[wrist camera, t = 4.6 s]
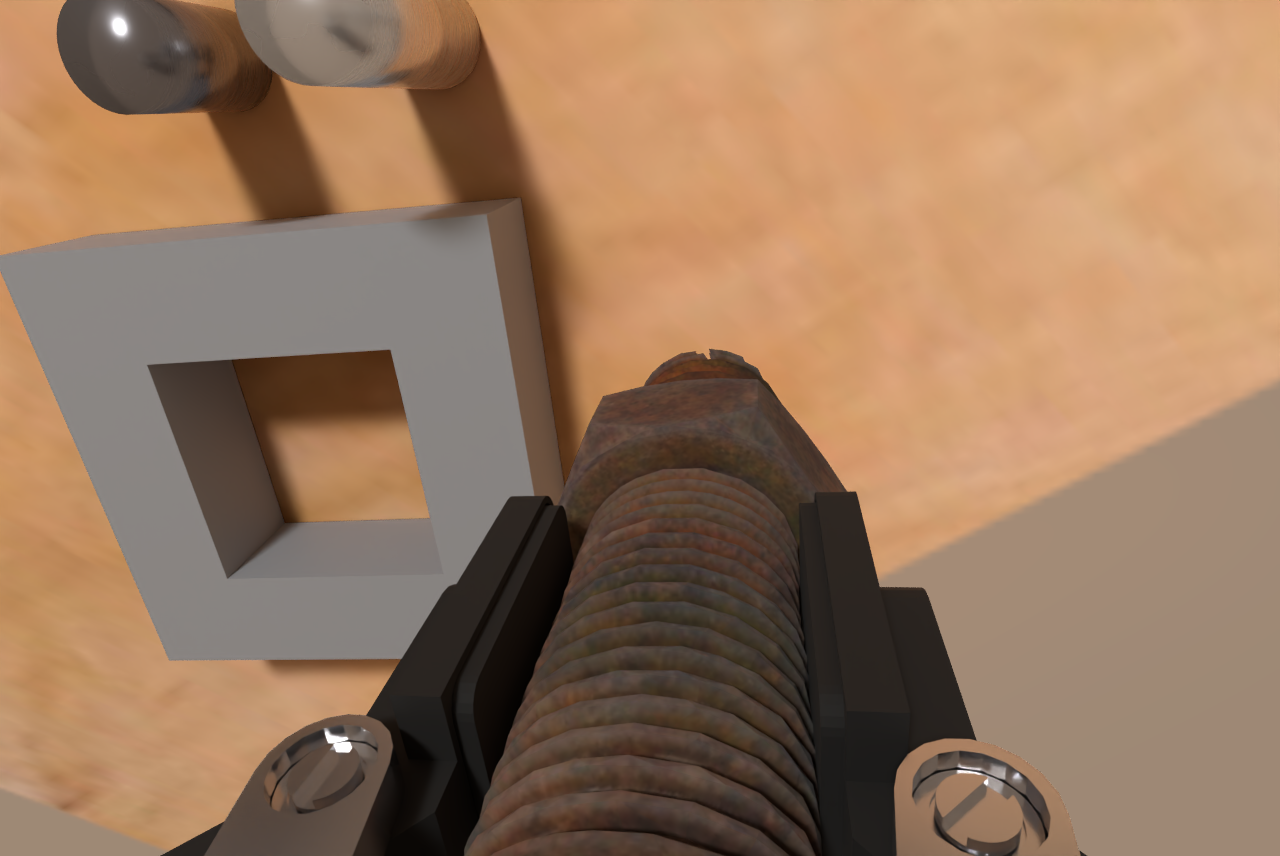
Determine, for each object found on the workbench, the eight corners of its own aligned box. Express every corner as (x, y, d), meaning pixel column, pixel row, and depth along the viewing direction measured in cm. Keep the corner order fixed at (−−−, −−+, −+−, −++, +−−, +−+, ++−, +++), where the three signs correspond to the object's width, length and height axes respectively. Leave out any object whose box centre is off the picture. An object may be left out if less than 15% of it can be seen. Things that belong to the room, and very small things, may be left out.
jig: (520, 197, 25) (486, 214, 21) (580, 592, 31) (562, 658, 28) (91, 235, 27) (-7, 256, 23) (229, 598, 33) (169, 660, 30)
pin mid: (470, -25, 22) (350, -84, 15) (488, 84, 24) (384, 78, 16) (376, -13, 23) (215, -65, 16) (398, 94, 24) (257, 92, 17)
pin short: (256, 2, 23) (143, -21, 19) (283, 107, 25) (183, 108, 20) (169, 14, 24) (38, -6, 19) (199, 115, 25) (83, 119, 20)
